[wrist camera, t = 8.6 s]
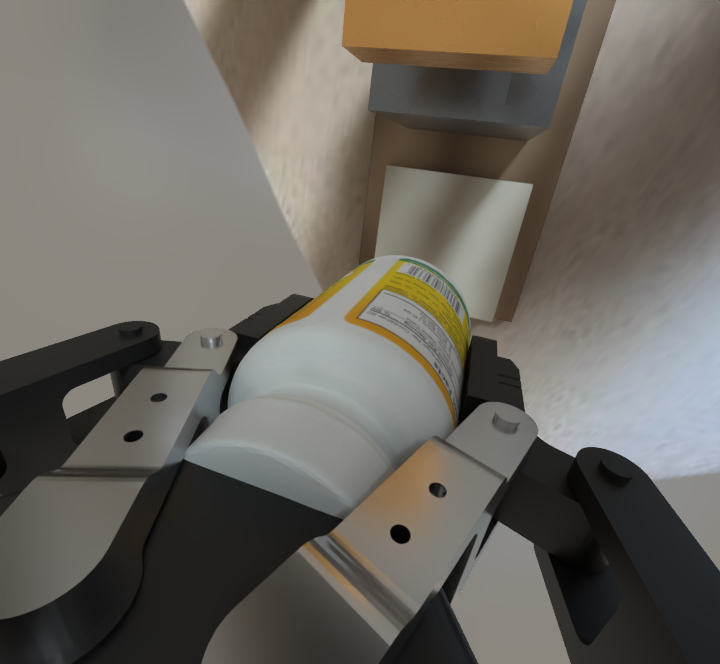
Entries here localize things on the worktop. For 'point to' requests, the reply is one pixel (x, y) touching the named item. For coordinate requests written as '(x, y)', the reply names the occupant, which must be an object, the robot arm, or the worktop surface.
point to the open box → (474, 95)
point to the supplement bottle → (346, 387)
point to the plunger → (457, 33)
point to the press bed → (476, 190)
